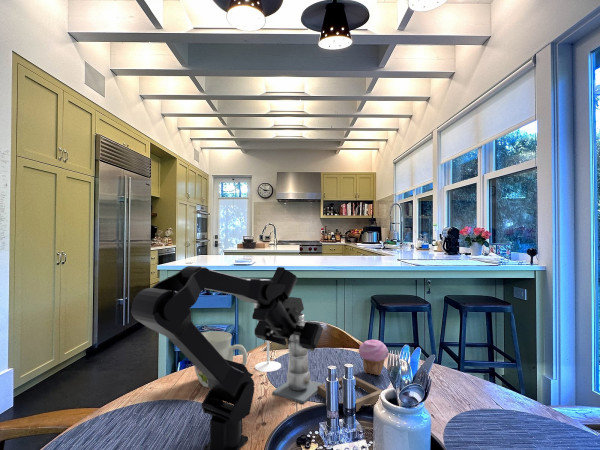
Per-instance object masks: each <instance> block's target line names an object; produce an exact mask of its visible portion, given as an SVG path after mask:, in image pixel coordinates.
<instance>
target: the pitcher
mask: <svg viewBox="0 0 600 450" xmlns="http://www.w3.org/2000/svg"><path fill="white" fill-rule="evenodd" d="M200 332H201V331H200ZM201 333H202V334H203V335H204V336H205V338H206V339H207V340H208V341H209V342H210V343H211V344H212V346H213V347H214V348H215V349H216V350H217V351H218V352H219V354H220V355H221V356H222V357H223V358H224V359H226V360H230V361H233V362H234V352H233V351H235V350H239V351H240V352H241V355H242V362H241V364H244V365H245V367H247V363H248V353H247V350H246V348H245V347H244V346H243V345H242V344H234V345H232V344H231V342H232V337H233V334H231V333H230V332H227V331H202V332H201ZM193 366H194V369H195V370H194V371H195V374H196V377H197V379H198V381H199V382H200V384H201V386H202V387H205V388H209V387H208V379H207V377H206V376H205V375H204V374H203V373H202V372H201V371H200V370H199V369H198V368H197V367H196V366H195V365H194V364H193Z"/></svg>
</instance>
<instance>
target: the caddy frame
mask: <svg viewBox="0 0 600 450" xmlns="http://www.w3.org/2000/svg"><path fill="white" fill-rule="evenodd" d="M353 376H354V377H355V379H356V386H355V387H356V388H358V387H360V388H362V389H364V390H365V391H367V392H368V393H367V392H366V393H367V395H364V396H362V397H359V398H357V399H355V400H356V412H359V411H360V410H359V409H360V408H361V406H362V405H364V404H373V405H375V404H377V403H378V402H377V401H378V399H379V395H380V393H381V392H382V391H384V390H383V389H381V388H379V387H377V386H375V385H373V384H372V383H370V382H367V381H365V380H364V379H361V378H360V377H357V376H355V375H353ZM337 379H338V380H339V384H340V385H341V387H342V377H340V378H337ZM317 388H318V392H317V395H319V396H320V397H322V398H324V399H325V400H327V399H326V388H325V383H322V385H319V386H317ZM342 388H343V387H342ZM365 391H364V392H365ZM369 393H370V394H369ZM376 402H377V403H376ZM356 412H355V413H356Z"/></svg>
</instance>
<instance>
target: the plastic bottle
mask: <svg viewBox="0 0 600 450" xmlns="http://www.w3.org/2000/svg"><path fill="white" fill-rule="evenodd" d="M298 318H299V321H298V323H296V325H300V326H304V325H305V323H304V322H305V314H304V313H303V312H301V313H300V314H299V315H298ZM299 337H300V335H294V334H292V335H291V336H290V338H289V339H286V342H287V346H288V367H287V368H288V370H287V374H286V375H287V376H286V380H287V381H286V382H288V386H289V387H290V388H291V389H293V390H297V391H299V390H304V389H306V388H307V387H308V386H309V384H310V380H311V373H310V369H309V358H308V357H309V350H307V349H305V348H302V346H301V345H300V343H299Z"/></svg>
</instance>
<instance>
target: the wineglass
mask: <svg viewBox="0 0 600 450" xmlns="http://www.w3.org/2000/svg"><path fill="white" fill-rule="evenodd" d="M256 306H257V304H256V303H253V309H254V308H256ZM257 321H258V322H259V320H257ZM281 368H282V364H281V363H280V362H278V361H274V360H270V341H266V361H261V362H259V363H256V364H255V365H254V369H255V370H257V371H259V372H264V373H265V372H266V373H268V372H270V373H271V372H276V371H277V370H279V369H281Z"/></svg>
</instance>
